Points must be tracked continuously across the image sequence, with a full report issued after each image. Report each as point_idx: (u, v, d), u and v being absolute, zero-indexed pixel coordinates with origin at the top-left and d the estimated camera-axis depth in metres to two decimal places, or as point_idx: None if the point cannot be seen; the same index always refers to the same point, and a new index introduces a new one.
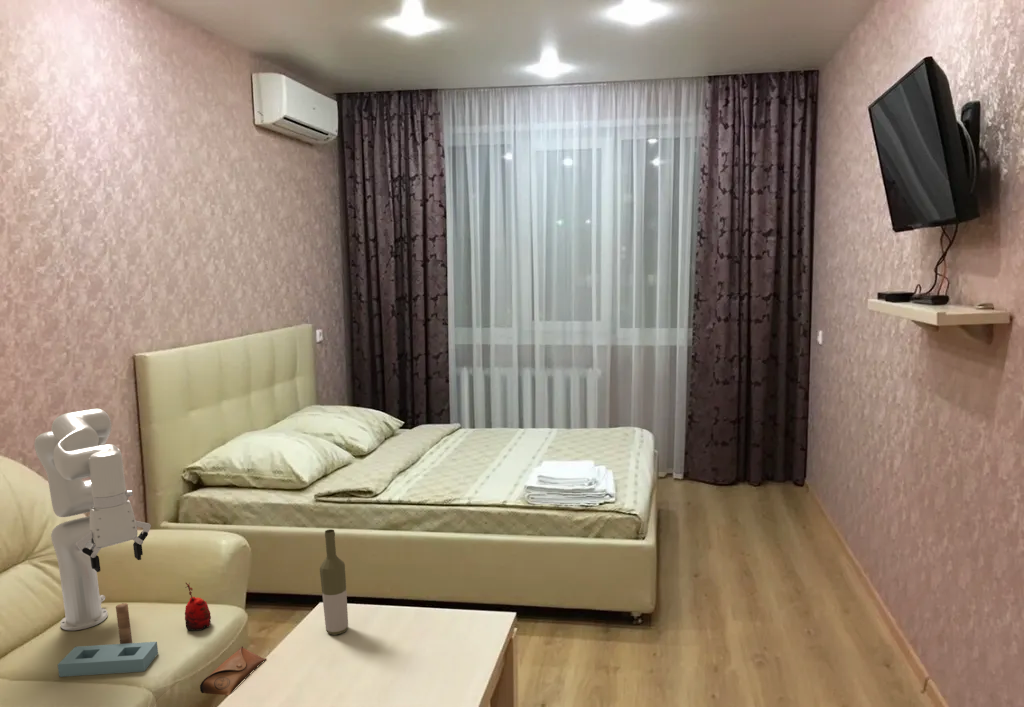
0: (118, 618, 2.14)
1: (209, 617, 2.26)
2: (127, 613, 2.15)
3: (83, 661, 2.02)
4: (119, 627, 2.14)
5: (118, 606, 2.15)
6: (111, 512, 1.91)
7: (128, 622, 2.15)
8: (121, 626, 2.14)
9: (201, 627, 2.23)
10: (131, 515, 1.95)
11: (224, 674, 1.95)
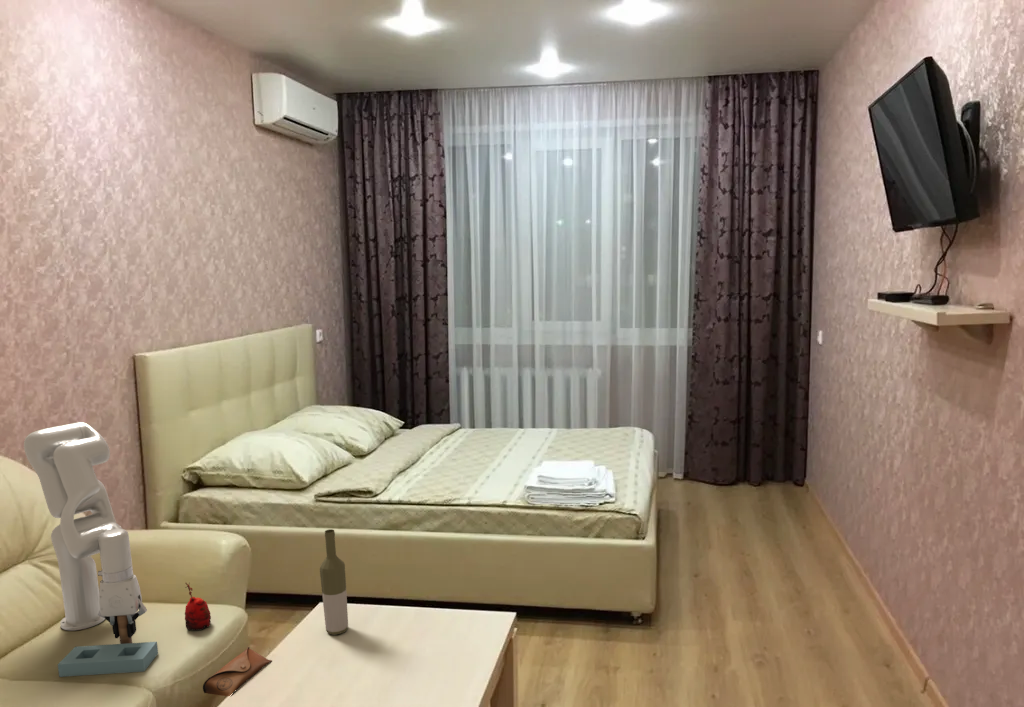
0: (118, 618, 2.14)
1: (209, 617, 2.26)
2: None
3: (83, 661, 2.02)
4: (119, 627, 2.14)
5: None
6: None
7: None
8: (121, 626, 2.14)
9: (201, 627, 2.23)
10: None
11: (227, 674, 1.95)
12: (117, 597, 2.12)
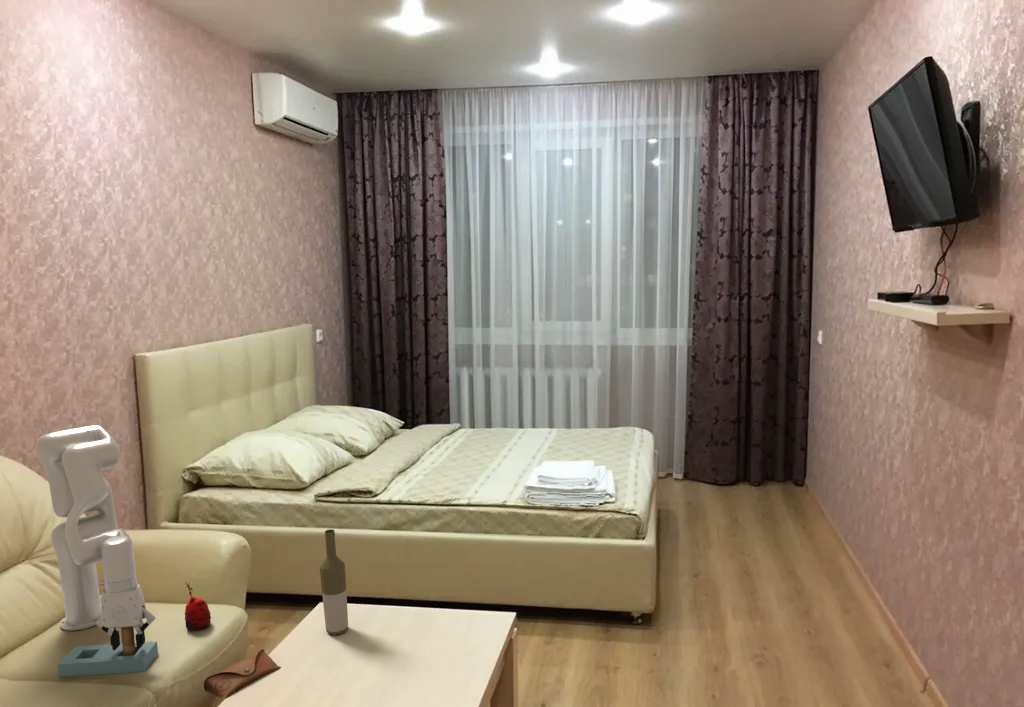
0: (123, 634, 2.04)
1: (209, 617, 2.26)
2: (132, 629, 2.05)
3: (83, 661, 2.02)
4: (123, 644, 2.05)
5: None
6: None
7: (133, 639, 2.06)
8: (125, 643, 2.05)
9: (201, 627, 2.23)
10: None
11: (229, 675, 1.94)
12: (120, 608, 2.02)
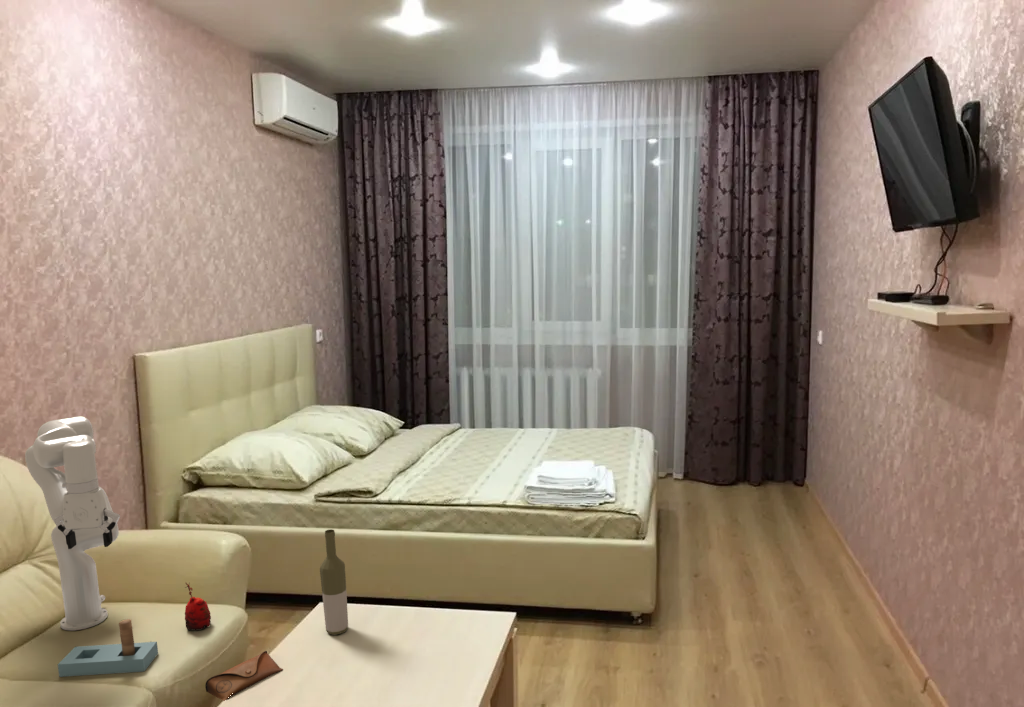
0: (122, 635, 2.04)
1: (209, 617, 2.26)
2: (131, 630, 2.05)
3: (83, 661, 2.02)
4: (122, 644, 2.05)
5: (121, 622, 2.05)
6: None
7: (132, 639, 2.06)
8: (124, 643, 2.05)
9: (201, 627, 2.23)
10: None
11: (231, 677, 1.94)
12: (82, 509, 2.07)
